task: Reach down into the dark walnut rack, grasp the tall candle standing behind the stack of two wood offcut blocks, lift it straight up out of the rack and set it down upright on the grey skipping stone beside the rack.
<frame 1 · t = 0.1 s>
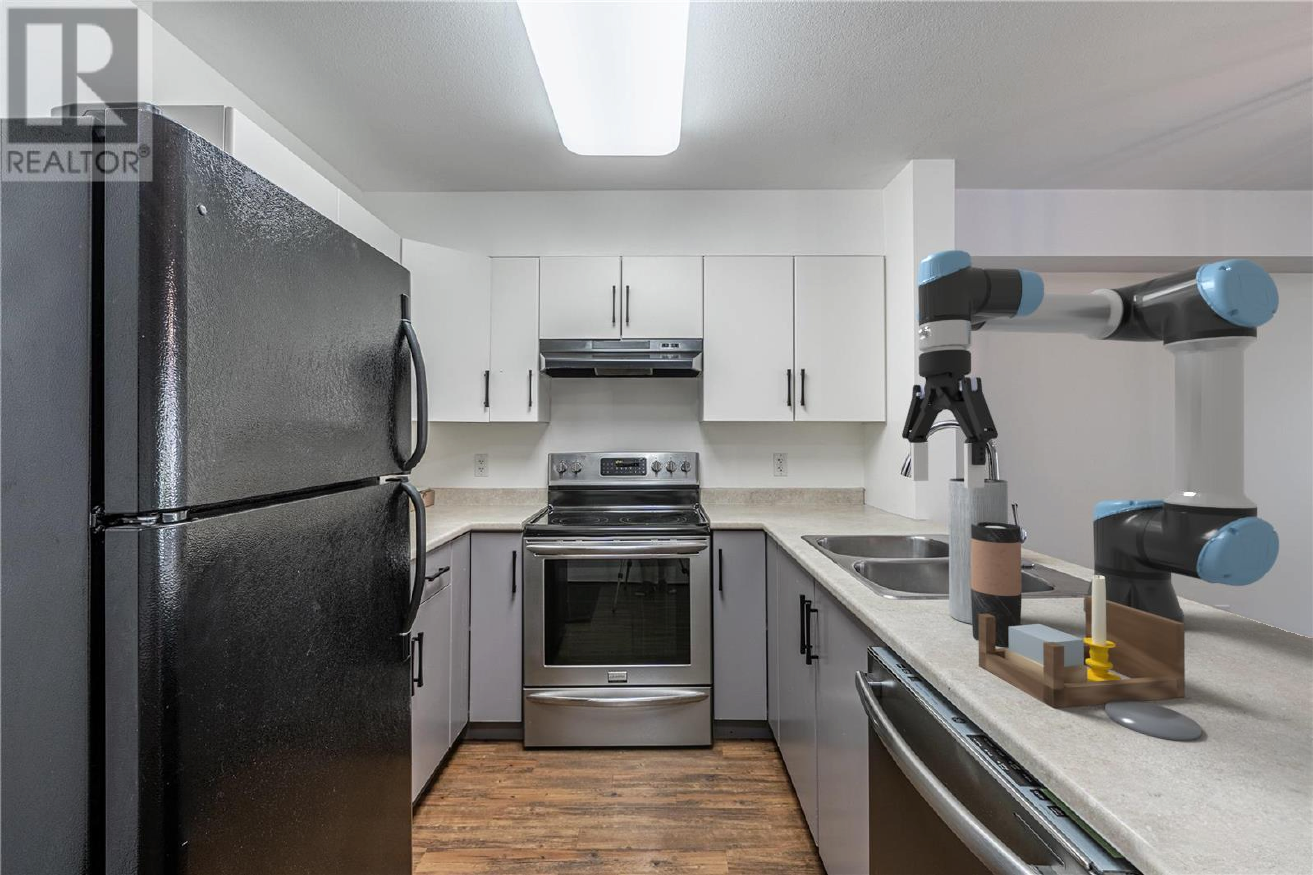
hand: (945, 484, 92), 28 cm above the counter, fingers open, 13 cm apart
offcut upper: (1045, 657, 83), point 4 cm above the counter, touching offcut lower
offcut lower: (1044, 684, 83), resting in rack, touching offcut upper
grey skipping stone: (1151, 721, 71), on the counter
travel mug: (995, 640, 100), on the counter
vase: (978, 619, 112), on the counter
candle: (1099, 680, 84), resting in rack
rack: (1074, 680, 83), on the counter
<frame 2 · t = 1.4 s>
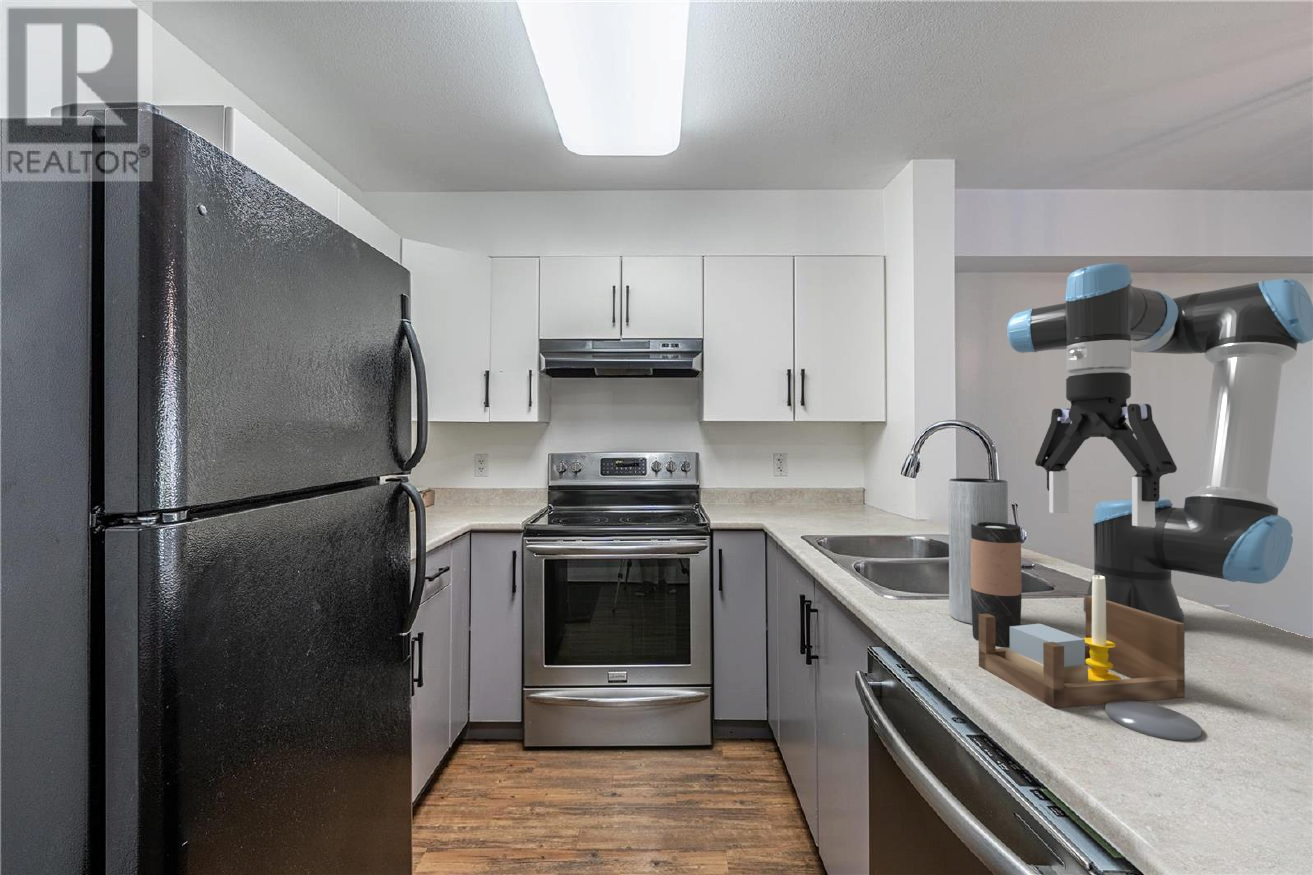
hand: (1097, 518, 84), 23 cm above the counter, fingers open, 13 cm apart
offcut upper: (1046, 657, 83), point 4 cm above the counter
offcut lower: (1045, 684, 83), resting in rack
everything else where it was.
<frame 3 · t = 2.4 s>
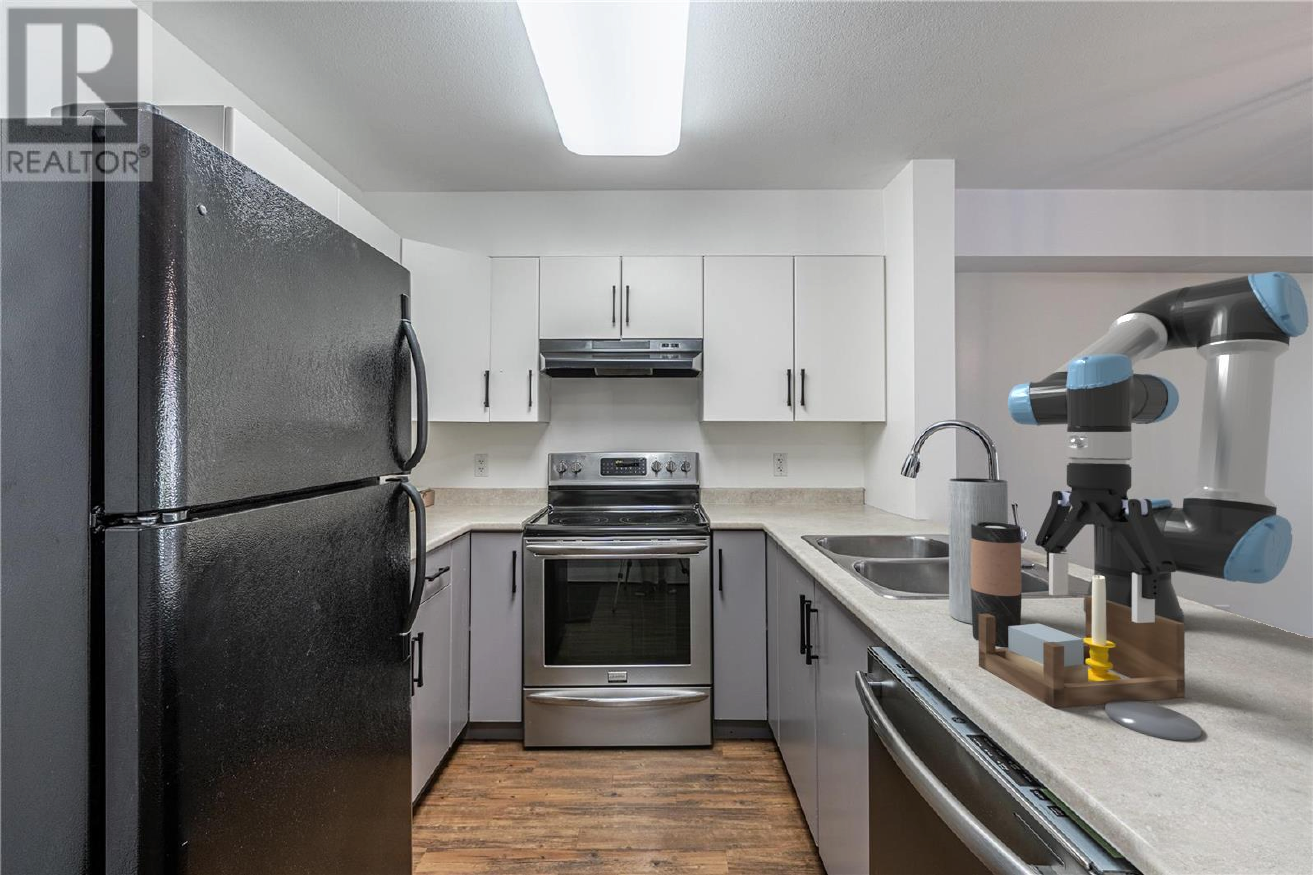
hand: (1097, 607, 84), 10 cm above the counter, fingers open, 13 cm apart
nothing on the counter moved.
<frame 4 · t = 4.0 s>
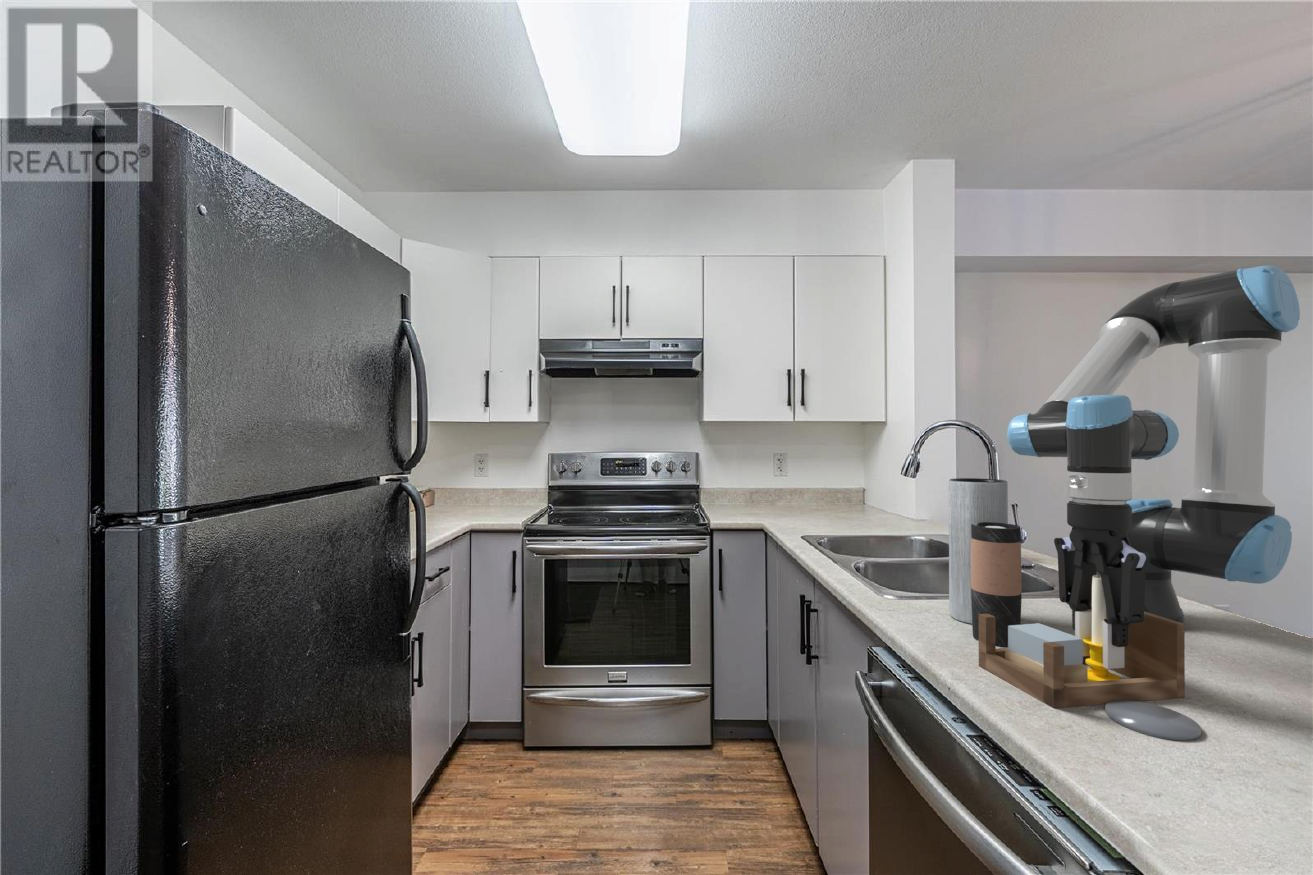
hand: (1099, 660, 84), 3 cm above the counter, fingers closed on candle, 4 cm apart
offcut upper: (1044, 656, 83), point 4 cm above the counter, touching offcut lower
offcut lower: (1044, 684, 83), resting in rack, touching offcut upper
candle: (1099, 680, 84), resting in rack, touching gripper
everything else where it was.
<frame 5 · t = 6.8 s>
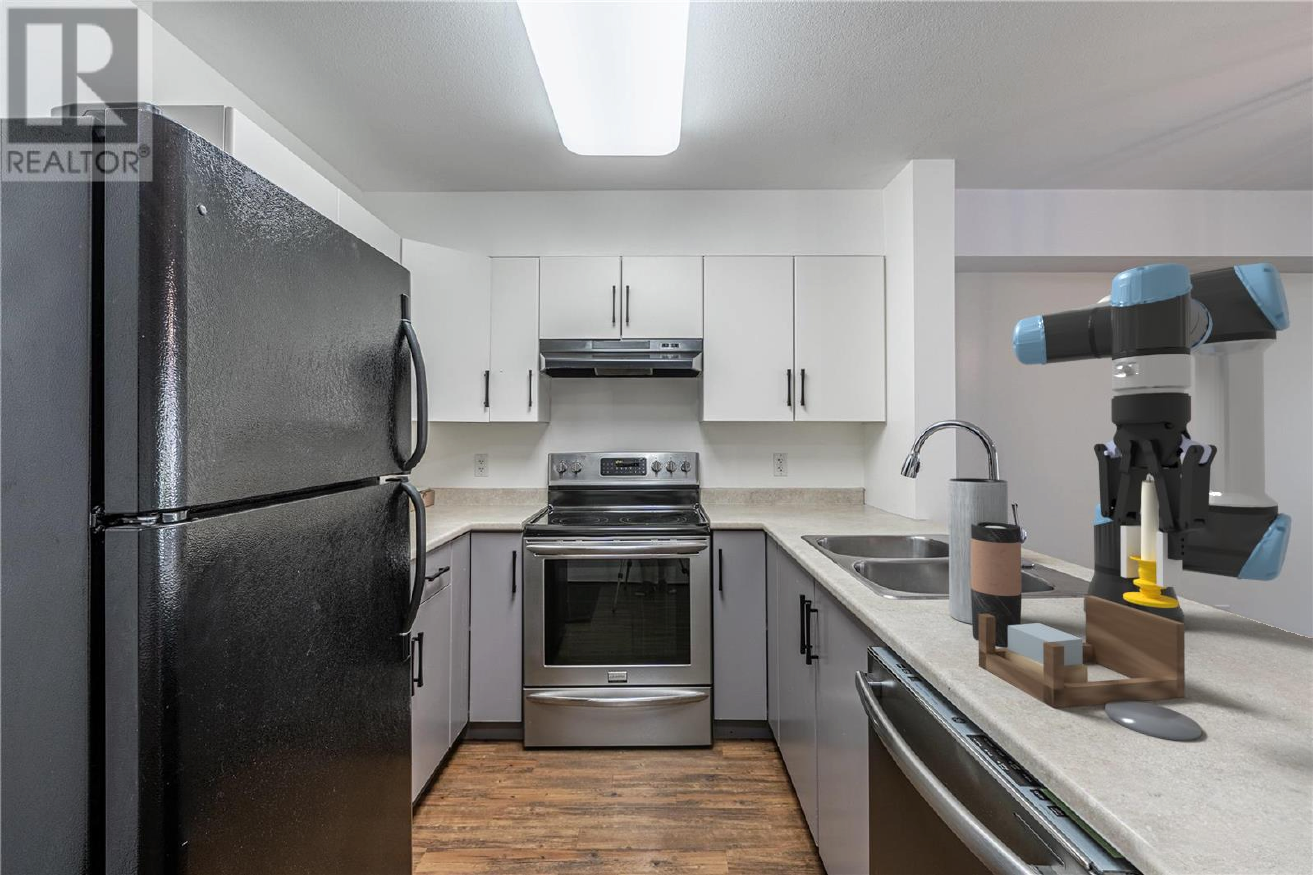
hand: (1150, 580, 71), 18 cm above the counter, fingers closed on candle, 4 cm apart
candle: (1150, 603, 71), point 15 cm above the counter, touching gripper
everything else where it was.
when the fingers open (5 cm above the counter, at t = 8.8 s): candle drops 2 cm, resting on grey skipping stone.
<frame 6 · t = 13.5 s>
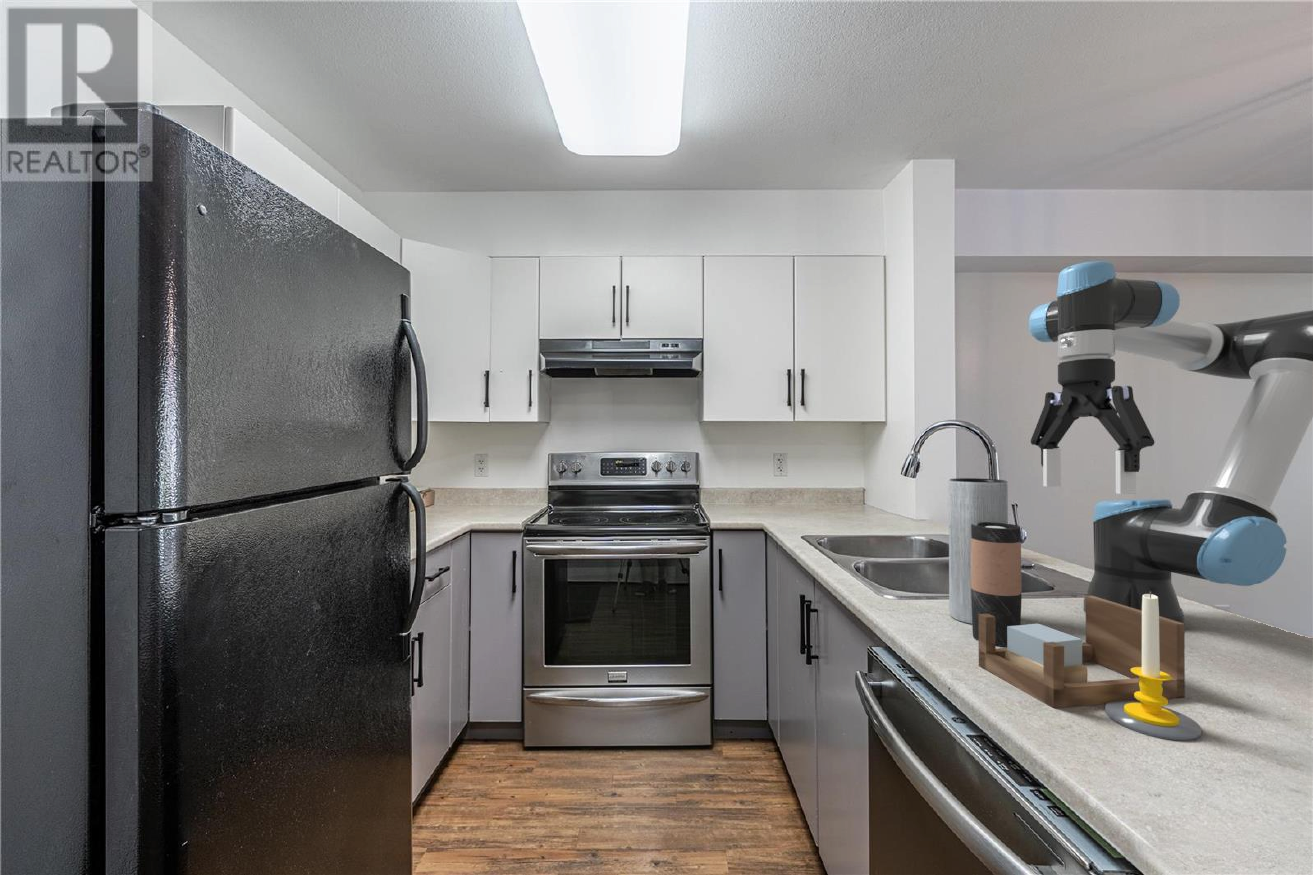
hand: (1086, 489, 94), 27 cm above the counter, fingers open, 13 cm apart
candle: (1150, 718, 71), resting on grey skipping stone
everything else where it was.
at the end: candle inside the target area on the grey skipping stone (0.0 cm from its centre), point 0.4 cm above the grey skipping stone's base; candle tilted 0°; the gripper is holding nothing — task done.
